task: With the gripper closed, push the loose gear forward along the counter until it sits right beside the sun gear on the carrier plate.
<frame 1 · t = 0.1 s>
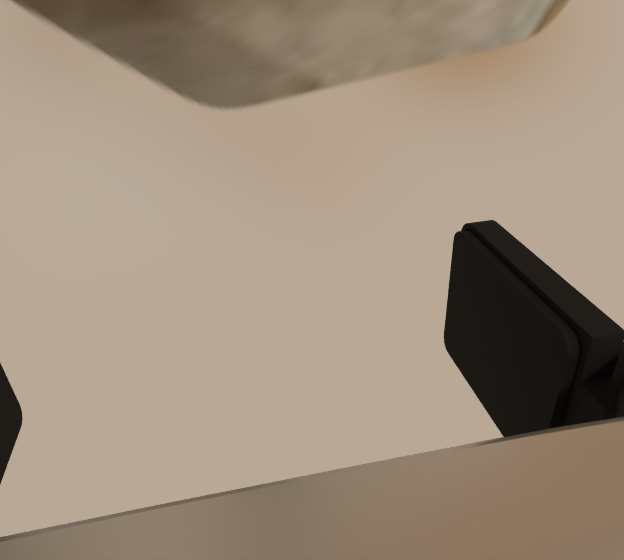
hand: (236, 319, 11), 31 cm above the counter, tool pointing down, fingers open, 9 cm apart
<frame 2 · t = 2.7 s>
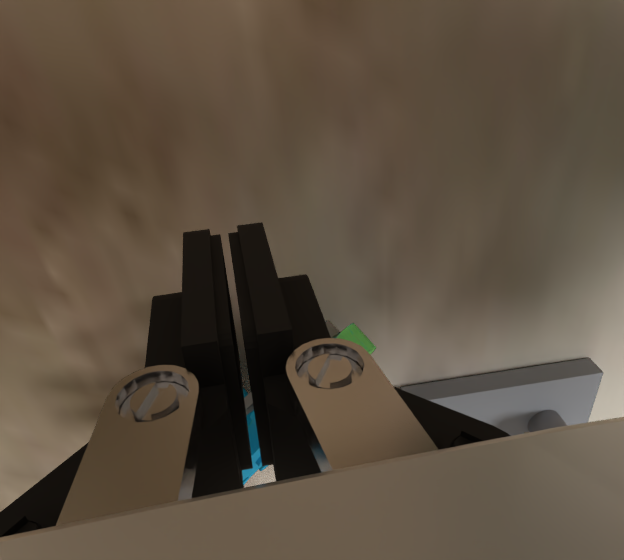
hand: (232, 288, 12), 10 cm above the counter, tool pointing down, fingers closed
carrier plate: (475, 493, 33), on the counter
gear: (267, 368, 26), on the counter
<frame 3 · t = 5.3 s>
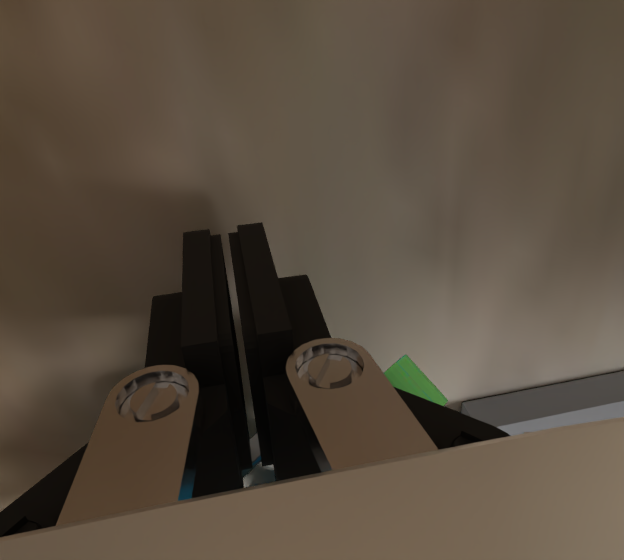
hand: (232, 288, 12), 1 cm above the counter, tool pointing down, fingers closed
carrier plate: (556, 548, 23), on the counter
gear: (242, 417, 16), on the counter, touching gripper
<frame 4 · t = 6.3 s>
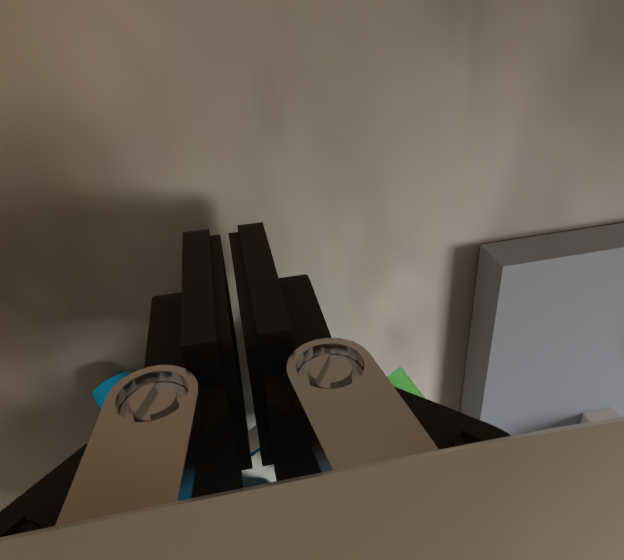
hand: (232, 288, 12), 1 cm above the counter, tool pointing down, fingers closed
carrier plate: (582, 459, 20), on the counter
gear: (223, 417, 16), on the counter, touching gripper
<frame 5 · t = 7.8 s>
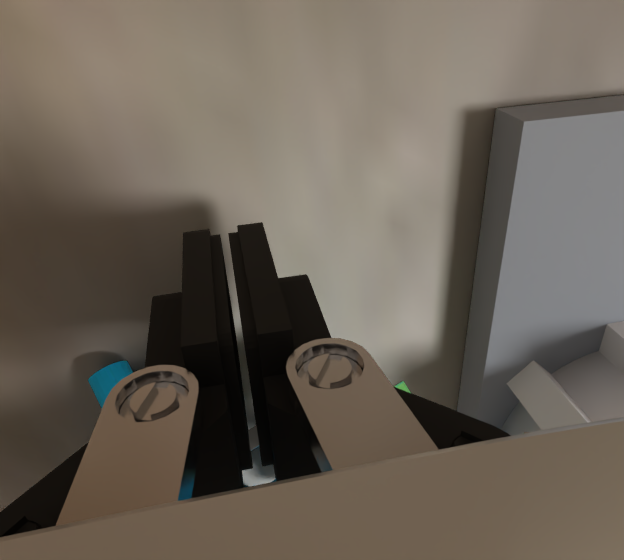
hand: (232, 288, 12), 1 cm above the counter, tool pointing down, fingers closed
carrier plate: (600, 393, 18), on the counter
gear: (212, 416, 15), on the counter, touching gripper
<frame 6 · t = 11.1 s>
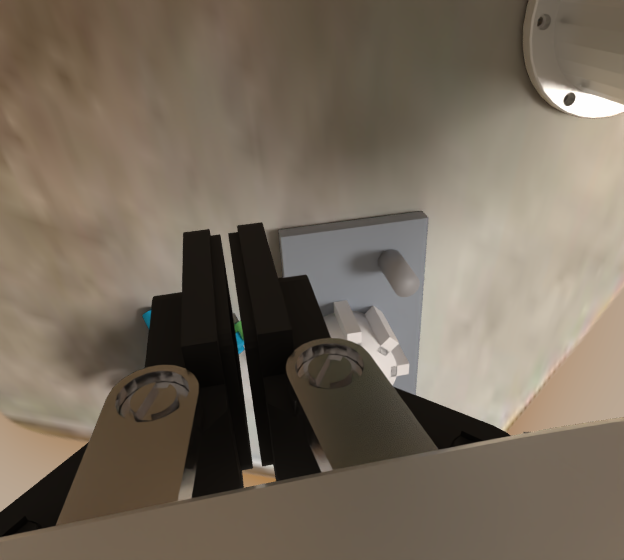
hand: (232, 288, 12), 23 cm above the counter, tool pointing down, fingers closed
carrier plate: (352, 333, 43), on the counter
gear: (185, 335, 40), on the counter
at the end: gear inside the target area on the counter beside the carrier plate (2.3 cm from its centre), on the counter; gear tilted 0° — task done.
